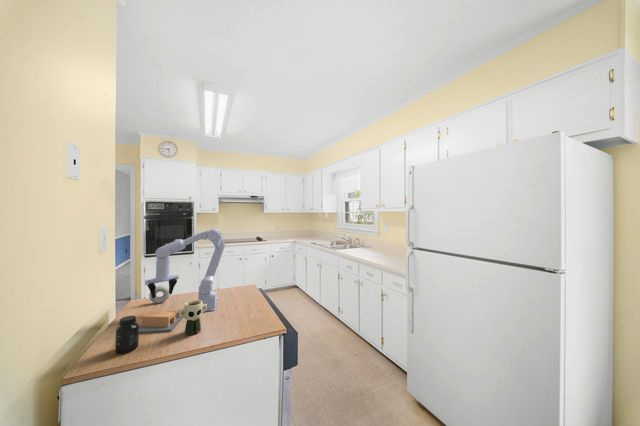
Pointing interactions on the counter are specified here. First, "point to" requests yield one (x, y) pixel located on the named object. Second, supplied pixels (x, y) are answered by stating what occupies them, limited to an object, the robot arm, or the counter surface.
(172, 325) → the post board
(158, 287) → the donut
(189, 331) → the character mug
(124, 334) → the supplement bottle
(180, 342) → the counter surface
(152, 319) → the rectangular block
